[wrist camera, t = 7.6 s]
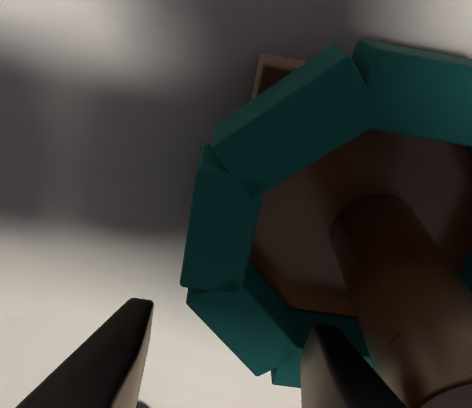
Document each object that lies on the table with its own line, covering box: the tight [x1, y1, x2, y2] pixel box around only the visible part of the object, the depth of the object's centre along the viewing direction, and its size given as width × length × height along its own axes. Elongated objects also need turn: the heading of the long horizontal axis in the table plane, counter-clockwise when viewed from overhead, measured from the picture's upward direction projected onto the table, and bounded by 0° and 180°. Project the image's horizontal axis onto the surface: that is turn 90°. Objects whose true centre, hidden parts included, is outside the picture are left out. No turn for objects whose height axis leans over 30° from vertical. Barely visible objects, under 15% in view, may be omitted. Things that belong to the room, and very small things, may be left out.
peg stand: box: [249, 53, 472, 408], centre depth 10 cm, size 8×8×8 cm
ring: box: [180, 38, 472, 388], centre depth 12 cm, size 10×10×2 cm
